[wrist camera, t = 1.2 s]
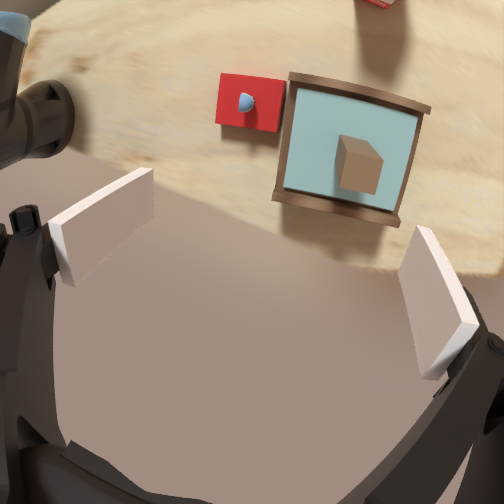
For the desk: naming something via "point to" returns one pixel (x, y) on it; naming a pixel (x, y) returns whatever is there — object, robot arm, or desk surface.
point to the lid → (348, 148)
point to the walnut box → (331, 202)
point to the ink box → (381, 3)
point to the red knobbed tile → (250, 102)
